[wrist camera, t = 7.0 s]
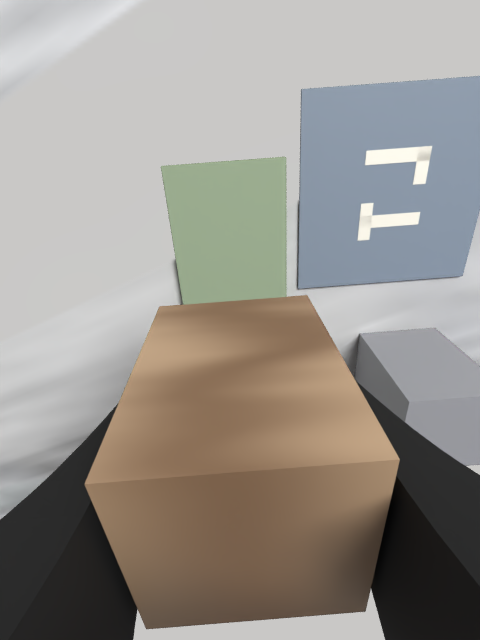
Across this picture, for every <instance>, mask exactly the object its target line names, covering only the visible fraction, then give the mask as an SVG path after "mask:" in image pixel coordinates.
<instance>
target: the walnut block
mask: <svg viewBox="0 0 480 640" xmlns="http://www.w3.org/2000/svg"><path fill="white" fill-rule="evenodd" d="M399 461H400V459H399V457H398V455H397V453H396V452H395V450H394V448H393V446H392V445H391V443H390V441H389V439H388V438H387V436H386V434H385V432H384V430H383V429H382V427H381V425H380V423H379V422H378V420H377V418H376V416H375V415H374V413H373V411H372V409H371V407H370V406H369V404H368V402H367V400H366V399H365V397H364V395H363V393H362V391H361V390H360V388H359V386H358V384H357V383H356V381H355V379H354V377H353V376H352V374H351V372H350V370H349V368H348V367H347V365H346V363H345V361H344V360H343V358H342V356H341V354H340V353H339V351H338V349H337V347H336V345H335V344H334V342H333V340H332V338H331V337H330V335H329V333H328V331H327V329H326V328H325V326H324V324H323V322H322V321H321V319H320V317H319V315H318V314H317V312H316V310H315V308H314V306H313V305H312V303H311V301H310V299H309V298H308V296H307V295H304V296H291V297H278V298H265V299H252V300H238V301H225V302H212V303H199V304H186V305H173V306H159V309H158V311H157V314H156V316H155V318H154V321H153V323H152V325H151V328H150V330H149V332H148V335H147V337H146V340H145V342H144V344H143V347H142V349H141V351H140V354H139V356H138V359H137V361H136V363H135V366H134V368H133V370H132V373H131V375H130V377H129V380H128V382H127V385H126V387H125V389H124V392H123V394H122V396H121V399H120V401H119V403H118V406H117V408H116V411H115V413H114V415H113V418H112V420H111V422H110V425H109V427H108V430H107V432H106V434H105V437H104V439H103V441H102V444H101V446H100V448H99V451H98V453H97V456H96V458H95V460H94V463H93V465H92V467H91V470H90V472H89V474H88V477H87V479H86V482H85V487H86V489H87V491H88V494H89V496H90V498H91V501H92V503H93V506H94V508H95V510H96V513H97V515H98V517H99V520H100V522H101V524H102V527H103V529H104V531H105V534H106V536H107V538H108V541H109V543H110V545H111V548H112V550H113V552H114V555H115V557H116V559H117V562H118V564H119V566H120V569H121V571H122V573H123V576H124V578H125V580H126V583H127V585H128V587H129V590H130V592H131V594H132V597H133V599H134V602H135V604H136V606H137V609H138V611H139V613H140V615H141V618H142V620H143V623H144V625H145V627H146V629H154V628H168V627H180V626H191V625H205V624H217V623H229V622H242V621H253V620H266V619H279V618H291V617H303V616H315V615H328V614H339V613H340V614H341V613H353V612H365V611H366V607H367V602H368V598H369V593H370V589H371V585H372V580H373V576H374V572H375V567H376V563H377V558H378V554H379V550H380V545H381V541H382V536H383V532H384V527H385V523H386V519H387V514H388V510H389V505H390V501H391V496H392V492H393V488H394V483H395V479H396V474H397V470H398V465H399Z"/></svg>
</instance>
